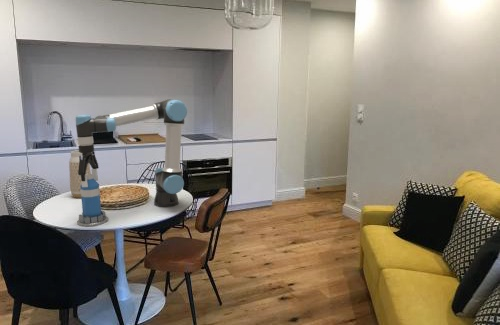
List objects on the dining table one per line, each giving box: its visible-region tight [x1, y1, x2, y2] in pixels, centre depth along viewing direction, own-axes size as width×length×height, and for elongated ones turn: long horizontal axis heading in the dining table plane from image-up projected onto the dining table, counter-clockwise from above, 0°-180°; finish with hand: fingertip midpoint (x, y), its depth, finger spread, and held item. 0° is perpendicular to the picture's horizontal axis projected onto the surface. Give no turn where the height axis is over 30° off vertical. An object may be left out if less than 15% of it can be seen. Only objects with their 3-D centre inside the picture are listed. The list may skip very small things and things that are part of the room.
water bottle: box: [80, 173, 102, 217], centre depth 215 cm, size 9×9×25 cm
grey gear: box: [76, 209, 109, 228], centre depth 217 cm, size 16×16×5 cm
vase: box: [68, 149, 92, 199], centre depth 265 cm, size 14×14×31 cm
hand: (90, 183), depth 214 cm, fingers open, 13 cm apart
